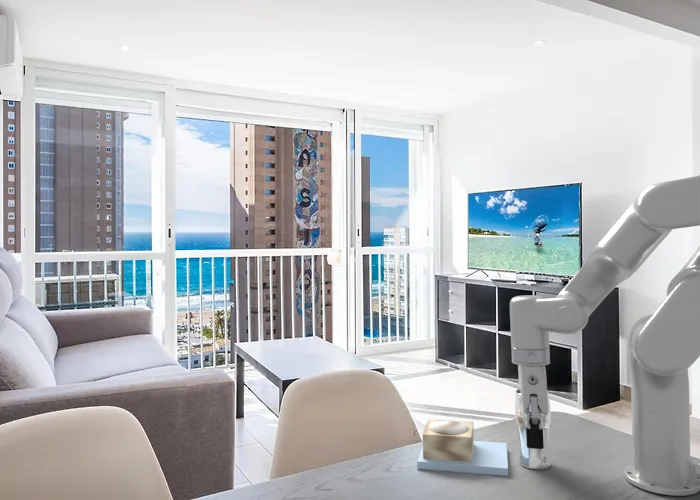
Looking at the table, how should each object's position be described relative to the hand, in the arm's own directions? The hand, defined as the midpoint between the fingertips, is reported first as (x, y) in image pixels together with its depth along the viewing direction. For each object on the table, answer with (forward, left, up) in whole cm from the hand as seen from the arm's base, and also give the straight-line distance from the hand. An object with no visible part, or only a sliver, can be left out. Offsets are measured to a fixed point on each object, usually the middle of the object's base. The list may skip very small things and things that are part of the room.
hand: (533, 441), depth 112 cm
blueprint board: (+14, 0, -5) cm, 15 cm away
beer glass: (0, 0, -5) cm, 5 cm away
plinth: (+17, 0, -3) cm, 18 cm away
